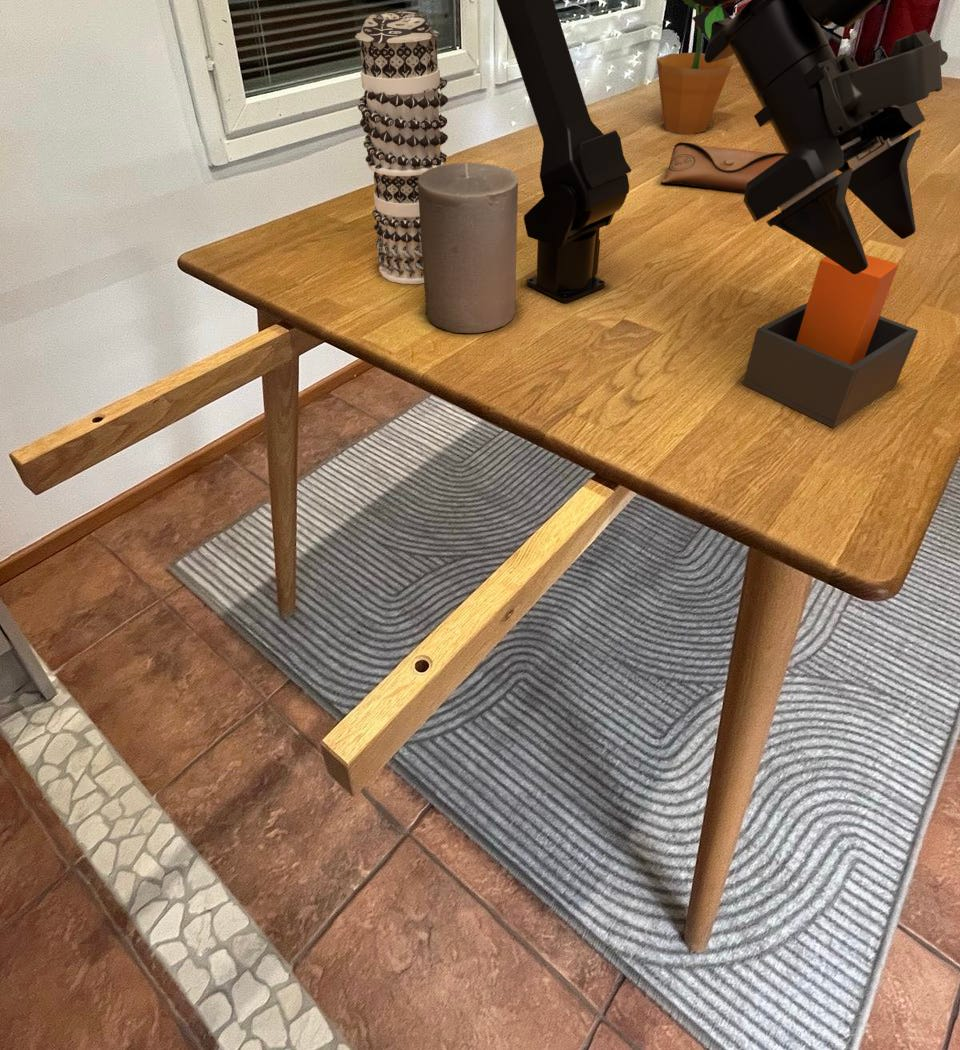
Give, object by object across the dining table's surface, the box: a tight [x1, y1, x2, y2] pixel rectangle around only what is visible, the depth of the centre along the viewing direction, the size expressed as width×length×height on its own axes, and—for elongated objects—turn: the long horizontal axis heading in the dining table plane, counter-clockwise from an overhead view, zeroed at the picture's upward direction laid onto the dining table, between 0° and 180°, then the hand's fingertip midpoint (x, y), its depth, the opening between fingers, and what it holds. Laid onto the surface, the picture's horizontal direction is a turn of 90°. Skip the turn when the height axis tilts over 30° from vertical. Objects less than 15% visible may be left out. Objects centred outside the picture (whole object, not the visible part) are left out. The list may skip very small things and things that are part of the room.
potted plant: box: [656, 0, 735, 135], centre depth 119 cm, size 18×19×30 cm
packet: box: [796, 254, 899, 366], centre depth 64 cm, size 4×5×11 cm
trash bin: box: [742, 301, 919, 429], centre depth 67 cm, size 10×9×6 cm
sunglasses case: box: [660, 141, 787, 194], centre depth 108 cm, size 18×7×7 cm
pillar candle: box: [418, 162, 519, 334], centre depth 75 cm, size 10×10×15 cm
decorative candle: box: [354, 11, 449, 285], centre depth 80 cm, size 9×9×25 cm
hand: (886, 252), depth 59 cm, fingers open, 9 cm apart
